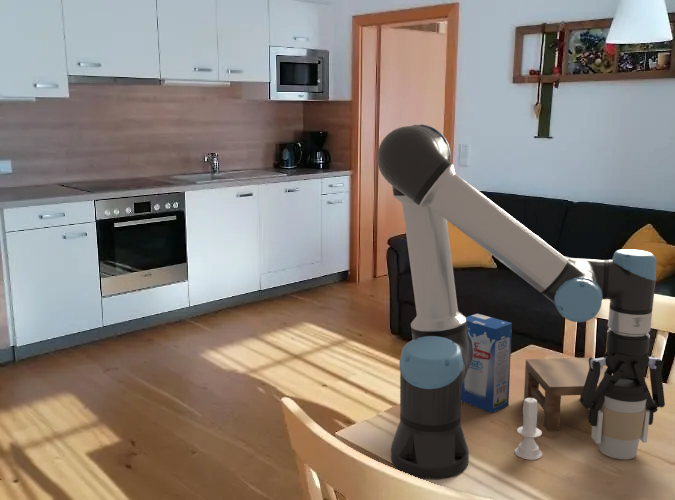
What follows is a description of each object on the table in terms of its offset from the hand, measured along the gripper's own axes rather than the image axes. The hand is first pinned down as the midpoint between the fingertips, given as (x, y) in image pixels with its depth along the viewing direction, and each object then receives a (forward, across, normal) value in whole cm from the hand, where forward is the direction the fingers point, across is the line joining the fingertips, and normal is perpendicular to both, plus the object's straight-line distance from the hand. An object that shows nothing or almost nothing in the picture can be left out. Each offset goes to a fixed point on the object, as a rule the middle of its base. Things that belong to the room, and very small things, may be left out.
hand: (618, 439), depth 133 cm
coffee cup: (+3, 0, 0) cm, 3 cm away
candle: (+3, -18, +1) cm, 18 cm away
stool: (+3, -3, +18) cm, 18 cm away
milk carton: (+3, -21, +25) cm, 33 cm away
